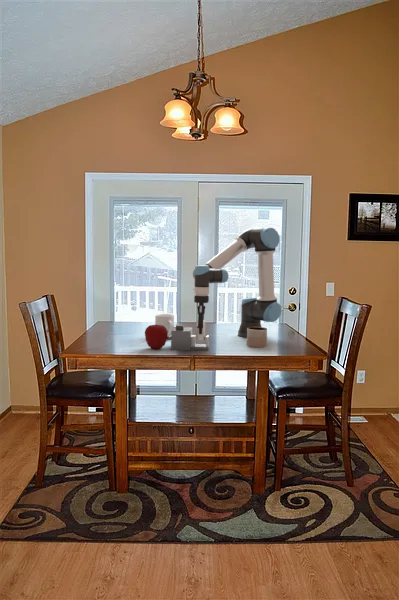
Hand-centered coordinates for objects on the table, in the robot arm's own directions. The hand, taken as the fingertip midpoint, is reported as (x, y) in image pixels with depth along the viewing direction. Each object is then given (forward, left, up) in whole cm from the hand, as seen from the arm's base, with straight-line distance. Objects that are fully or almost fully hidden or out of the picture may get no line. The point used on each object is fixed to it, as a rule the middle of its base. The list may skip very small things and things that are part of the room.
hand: (200, 339), depth 251 cm
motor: (+7, 0, -5) cm, 8 cm away
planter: (-30, -11, -5) cm, 32 cm away
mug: (+22, -27, -5) cm, 35 cm away
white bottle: (0, 0, 0) cm, 0 cm away
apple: (+23, +4, -5) cm, 24 cm away
